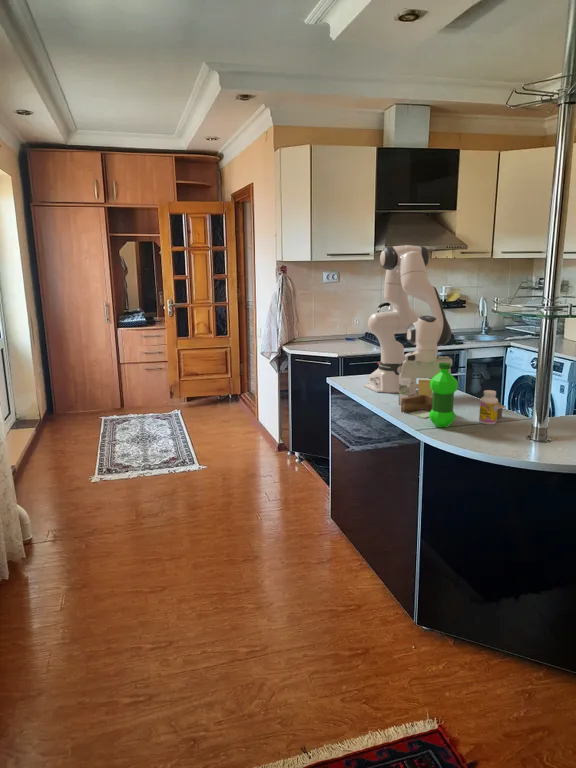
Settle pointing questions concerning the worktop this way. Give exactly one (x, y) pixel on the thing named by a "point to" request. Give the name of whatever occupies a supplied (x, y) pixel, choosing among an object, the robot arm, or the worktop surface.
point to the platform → (500, 410)
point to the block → (424, 387)
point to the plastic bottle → (443, 396)
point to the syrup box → (406, 388)
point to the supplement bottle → (488, 408)
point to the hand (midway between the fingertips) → (425, 388)
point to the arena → (416, 403)
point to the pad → (421, 414)
